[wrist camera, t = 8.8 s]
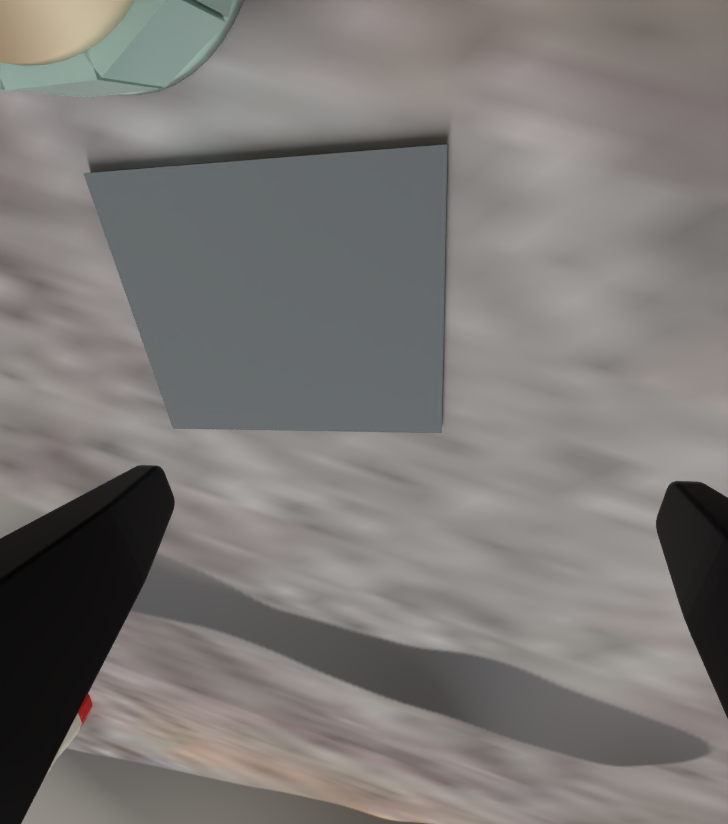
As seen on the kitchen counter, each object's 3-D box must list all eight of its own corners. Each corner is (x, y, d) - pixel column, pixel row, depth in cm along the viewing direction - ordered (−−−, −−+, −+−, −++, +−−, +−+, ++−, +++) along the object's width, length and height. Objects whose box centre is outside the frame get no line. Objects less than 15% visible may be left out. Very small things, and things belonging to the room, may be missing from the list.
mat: (447, 143, 16) (447, 144, 16) (441, 428, 22) (441, 432, 22) (90, 172, 18) (83, 173, 18) (176, 424, 24) (173, 428, 24)
